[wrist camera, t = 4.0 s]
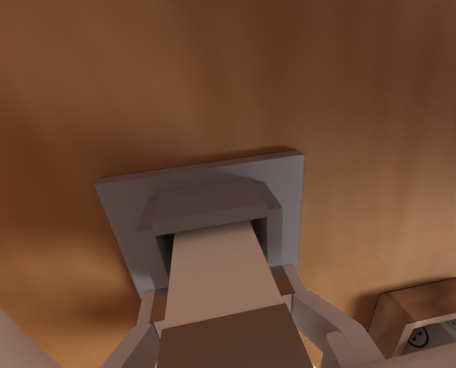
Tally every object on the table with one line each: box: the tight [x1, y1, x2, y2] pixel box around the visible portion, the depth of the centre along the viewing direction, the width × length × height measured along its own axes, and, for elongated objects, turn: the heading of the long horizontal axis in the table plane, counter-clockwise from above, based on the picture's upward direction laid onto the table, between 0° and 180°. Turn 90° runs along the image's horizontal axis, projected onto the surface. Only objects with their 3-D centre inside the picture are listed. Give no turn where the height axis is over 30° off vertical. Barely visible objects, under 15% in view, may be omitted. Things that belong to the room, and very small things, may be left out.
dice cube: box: [402, 319, 456, 355], centre depth 22 cm, size 5×5×5 cm
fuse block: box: [94, 150, 305, 301], centre depth 15 cm, size 12×18×4 cm, turn 6°
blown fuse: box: [157, 220, 313, 368], centre depth 10 cm, size 4×4×9 cm
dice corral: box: [368, 278, 456, 360], centre depth 23 cm, size 9×9×3 cm
